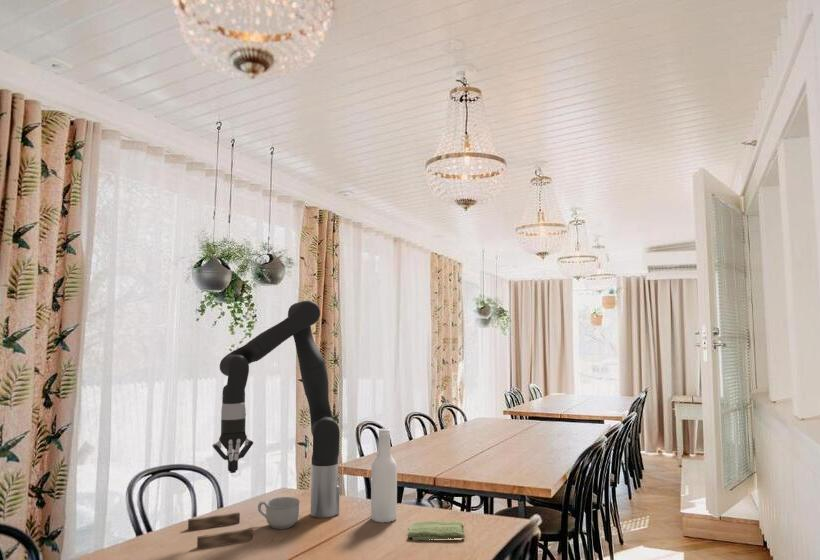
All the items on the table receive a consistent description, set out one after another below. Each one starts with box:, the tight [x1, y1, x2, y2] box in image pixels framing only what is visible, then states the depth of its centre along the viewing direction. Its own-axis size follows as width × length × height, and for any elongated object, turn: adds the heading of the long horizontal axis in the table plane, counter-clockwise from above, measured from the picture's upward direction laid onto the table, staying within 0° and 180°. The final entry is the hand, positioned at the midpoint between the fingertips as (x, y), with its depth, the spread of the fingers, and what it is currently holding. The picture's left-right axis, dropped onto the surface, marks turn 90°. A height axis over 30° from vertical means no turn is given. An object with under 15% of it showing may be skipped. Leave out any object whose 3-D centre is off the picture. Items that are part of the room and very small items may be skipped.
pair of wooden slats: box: [187, 512, 254, 549], centre depth 180 cm, size 16×20×3 cm
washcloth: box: [407, 519, 466, 541], centre depth 180 cm, size 13×18×3 cm
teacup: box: [257, 496, 300, 530], centre depth 188 cm, size 14×11×8 cm
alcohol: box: [370, 427, 398, 524], centre depth 196 cm, size 9×9×30 cm
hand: (232, 472), depth 183 cm, fingers closed
